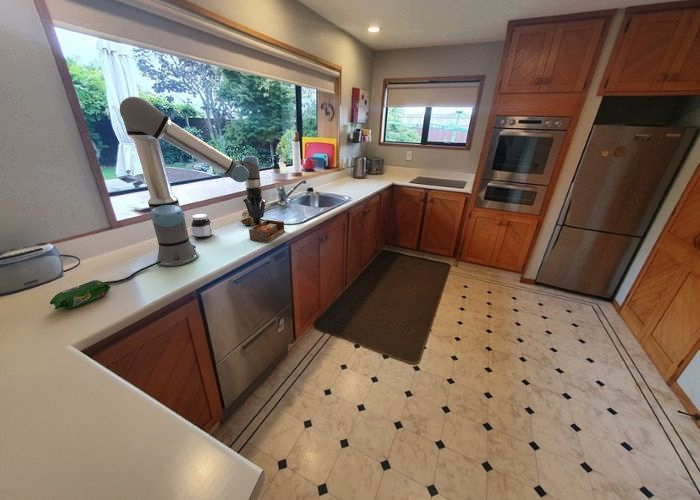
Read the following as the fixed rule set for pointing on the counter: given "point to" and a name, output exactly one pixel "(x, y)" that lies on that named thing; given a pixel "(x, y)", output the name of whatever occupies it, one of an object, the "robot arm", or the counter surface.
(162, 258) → the robot arm
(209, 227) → the spread jar
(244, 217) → the sponge
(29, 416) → the counter surface
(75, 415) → the counter surface
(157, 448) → the counter surface
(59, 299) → the snack package
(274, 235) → the wooden box
